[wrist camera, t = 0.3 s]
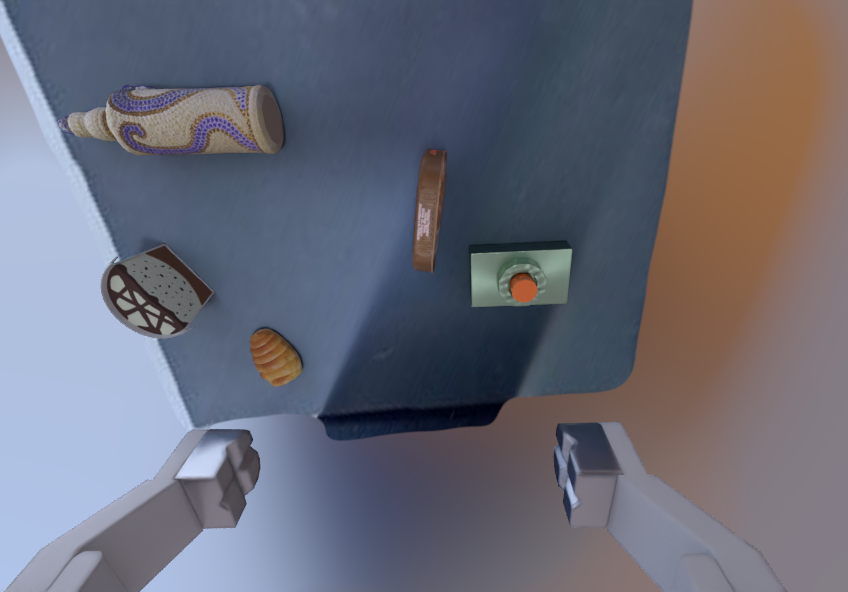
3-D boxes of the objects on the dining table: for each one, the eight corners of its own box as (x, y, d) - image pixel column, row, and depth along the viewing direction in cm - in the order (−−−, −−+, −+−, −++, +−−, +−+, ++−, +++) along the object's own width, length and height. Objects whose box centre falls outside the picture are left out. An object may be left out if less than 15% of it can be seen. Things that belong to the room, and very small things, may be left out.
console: (469, 245, 57) (471, 259, 53) (566, 240, 56) (576, 254, 52) (470, 297, 61) (472, 314, 56) (561, 293, 60) (570, 310, 55)
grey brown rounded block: (130, 258, 60) (75, 289, 51) (156, 235, 58) (104, 262, 50) (196, 319, 65) (156, 357, 56) (222, 299, 63) (186, 335, 54)
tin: (436, 258, 58) (435, 284, 51) (414, 256, 58) (409, 282, 51) (448, 145, 51) (449, 156, 44) (423, 143, 51) (419, 153, 44)
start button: (509, 273, 54) (512, 280, 52) (535, 272, 54) (538, 279, 52) (509, 295, 55) (511, 303, 54) (533, 294, 55) (536, 302, 53)
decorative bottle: (278, 82, 49) (255, 83, 43) (289, 149, 52) (269, 159, 47) (67, 85, 50) (16, 87, 44) (91, 151, 54) (47, 161, 48)
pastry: (242, 334, 66) (232, 347, 62) (279, 320, 64) (270, 334, 61) (274, 378, 69) (265, 394, 66) (309, 366, 68) (302, 381, 65)
